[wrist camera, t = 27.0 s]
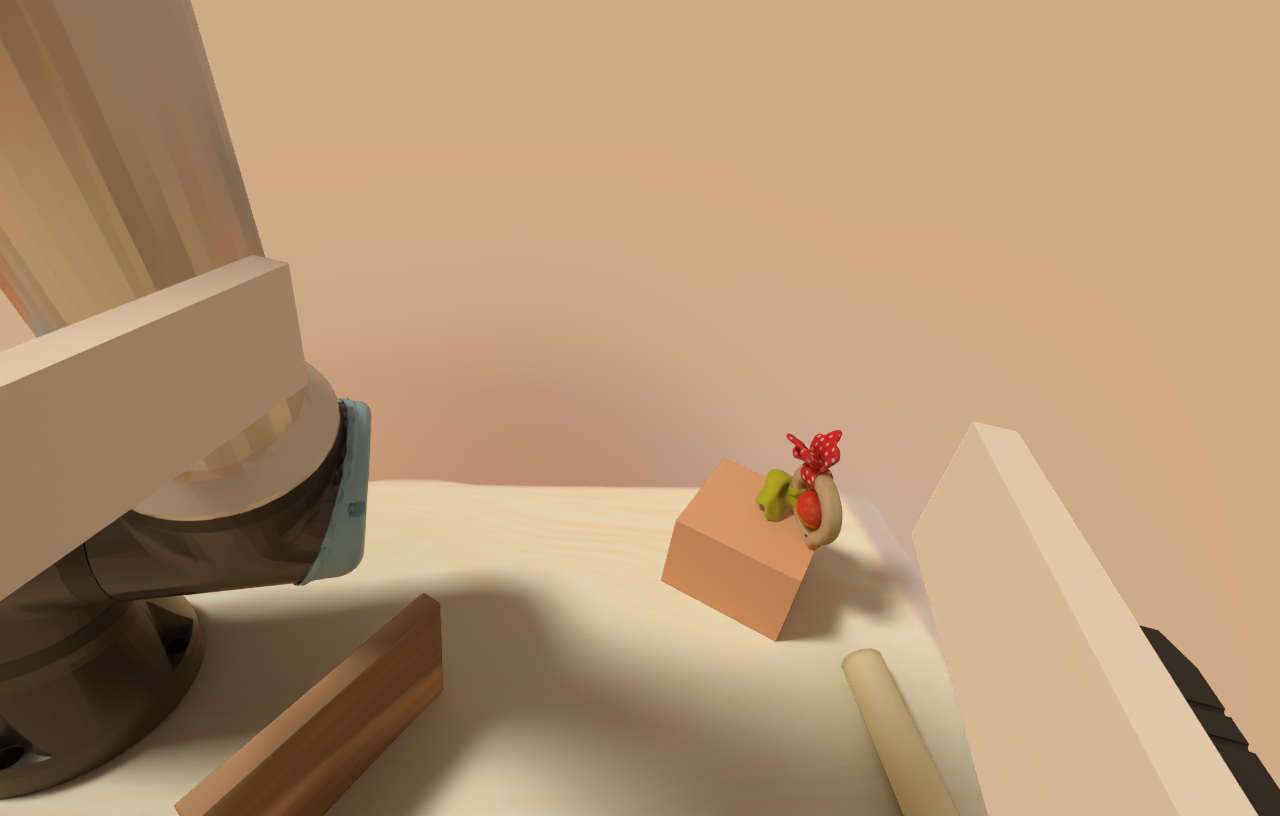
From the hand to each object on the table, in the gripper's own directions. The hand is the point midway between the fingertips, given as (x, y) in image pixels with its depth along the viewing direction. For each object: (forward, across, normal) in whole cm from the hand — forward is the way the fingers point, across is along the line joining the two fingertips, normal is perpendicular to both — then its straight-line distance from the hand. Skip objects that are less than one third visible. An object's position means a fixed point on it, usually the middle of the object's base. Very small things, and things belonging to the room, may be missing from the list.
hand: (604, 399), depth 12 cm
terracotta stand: (+36, +10, -39) cm, 54 cm away
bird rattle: (+35, +14, -31) cm, 49 cm away
